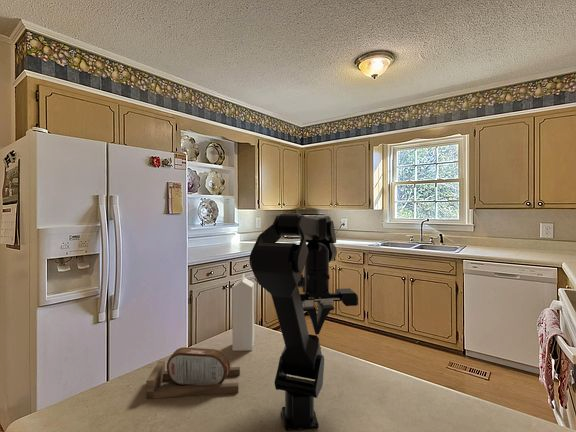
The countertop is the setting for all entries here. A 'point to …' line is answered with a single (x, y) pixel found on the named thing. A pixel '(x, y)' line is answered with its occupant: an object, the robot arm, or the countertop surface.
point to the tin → (198, 366)
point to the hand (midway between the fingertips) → (316, 333)
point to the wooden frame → (177, 391)
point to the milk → (243, 315)
